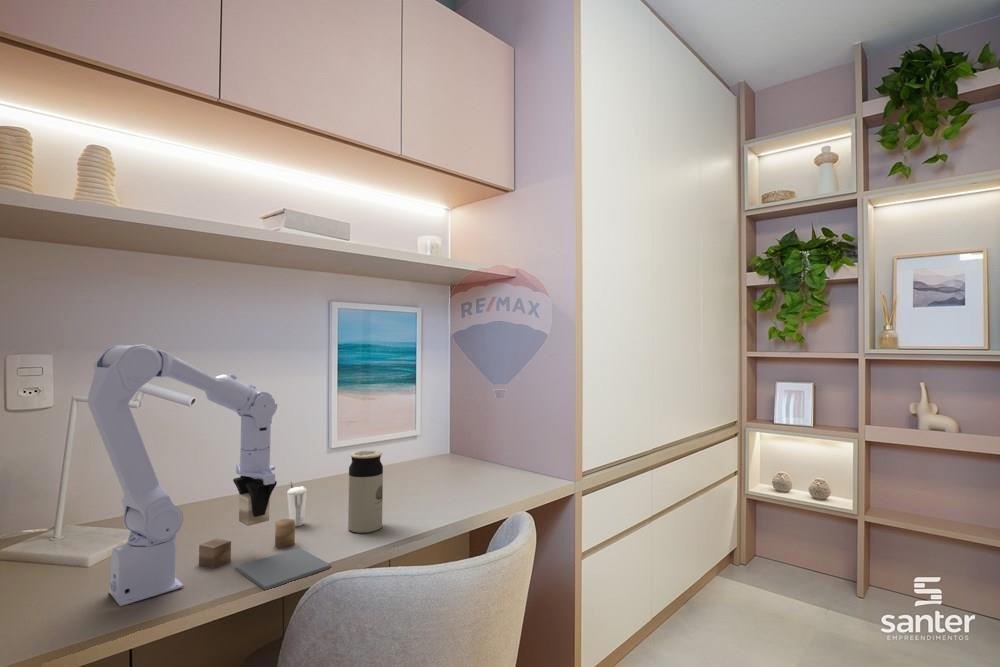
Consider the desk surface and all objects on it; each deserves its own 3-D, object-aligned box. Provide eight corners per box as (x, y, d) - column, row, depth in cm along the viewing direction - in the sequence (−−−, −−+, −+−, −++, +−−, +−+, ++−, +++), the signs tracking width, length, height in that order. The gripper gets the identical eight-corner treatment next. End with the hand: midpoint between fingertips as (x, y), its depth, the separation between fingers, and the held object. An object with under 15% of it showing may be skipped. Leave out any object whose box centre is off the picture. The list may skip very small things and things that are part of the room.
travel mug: (341, 530, 123) (342, 454, 124) (362, 520, 130) (363, 448, 131) (368, 536, 120) (369, 457, 120) (388, 525, 127) (389, 451, 128)
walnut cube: (213, 568, 102) (213, 548, 102) (198, 565, 103) (199, 545, 104) (230, 560, 106) (231, 541, 106) (216, 557, 107) (216, 538, 107)
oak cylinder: (280, 549, 111) (280, 526, 112) (271, 544, 114) (272, 522, 114) (297, 544, 114) (298, 521, 115) (289, 540, 117) (289, 517, 117)
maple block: (247, 525, 106) (248, 498, 106) (238, 521, 109) (239, 494, 109) (269, 520, 109) (269, 494, 109) (260, 516, 112) (260, 490, 112)
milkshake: (298, 519, 131) (299, 479, 131) (310, 524, 128) (310, 483, 128) (281, 524, 128) (282, 483, 128) (292, 529, 124) (293, 487, 124)
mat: (264, 590, 93) (264, 586, 93) (235, 569, 101) (235, 566, 101) (331, 567, 102) (331, 564, 102) (299, 550, 111) (299, 547, 111)
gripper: (290, 450, 108) (288, 516, 107) (259, 441, 117) (258, 502, 117) (255, 455, 102) (254, 524, 102) (226, 445, 112) (225, 509, 112)
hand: (254, 513), depth 109 cm, fingers closed on maple block, 4 cm apart
